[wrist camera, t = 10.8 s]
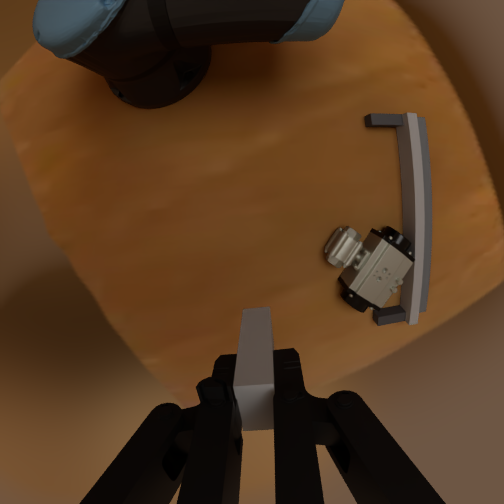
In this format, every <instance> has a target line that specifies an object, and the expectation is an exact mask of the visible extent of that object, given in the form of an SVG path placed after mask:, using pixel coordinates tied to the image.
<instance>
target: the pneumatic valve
mask: <svg viewBox="0 0 504 504" xmlns="http://www.w3.org/2000/svg"><path fill="white" fill-rule="evenodd" d="M360 238H361V235H360V234H359V233H358V232H356V231H355V230H353V229H352V228H350V227H349V226H346V227H345V229H344V230H343V229H342V228H340V227H339V228H337V229H336V231H335V233H334V234H333V236H332V237H331V239H330V240H329V242H328V243H327V245H326V246H325V250H324V251H325V253H328V252H329V253H328V255H327V256H326V260H327V261H328V262H330V263H331V264H332V265H334V266H335V267H337V268H341V266H342V265H343V267H344V268H345V270H344V271H343V272H342V274H341V275H340V277H339V278H338V280H339V282H340V283H341V285H342V286H343V287H344V290H343V291H342V293H341V294H340V296H341V297H342V298H343V300H344V301H345V302H347V303H348V304H349V305H350V306H352V307H353V308H354V309H356V310H358V311H360V312H362V313H364V312H365V311H366V309H367V308H368V307H369V308H370V309H371V310H373V309H375V310H377V311H378V312H379V311H380V310H381V308H382V307H383V305H384V304H385V303H386V301H387V300H388V299H389V297H390V296H391V295H392V293H396V292H397V288H396V287H397V286H398V285H402V284H403V280H402V279H403V277H404V276H405V274H406V273H407V271H408V270H409V268H410V267H411V265H412V264H413V262H414V261H415V258H414V257H412V256H411V254H412V253H411V252H410V251H408V252H407V250H408V249H409V247H410V246H411V242H410V241H409V240H408V239H407V238H406V237H404V236H403V235H402V234H400V233H399V232H397V231H396V230H394V229H393V228H391V227H389V226H386V228H385V229H384V231H383V233H382V232H381V231H380V230H378V231H377V230H375V229H373V228H372V229H371V231H370V232H369V234H368V235H367V237H366V238H365V240H364V241H363V243H362V242H360V241H359V239H360ZM358 241H359V242H358ZM343 263H344V264H343Z"/></svg>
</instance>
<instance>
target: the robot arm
mask: <svg viewBox="0 0 504 504" xmlns="http://www.w3.org/2000/svg"><path fill="white" fill-rule="evenodd" d="M343 3H344V0H39V1H38V3H37V6H36V9H35V12H34V17H33V32H34V36H35V38H36V40H37V41H38V43H39V44H40V45H41V46H43V47H44V48H46V49H48V50H50V51H51V52H53V53H54V55H55V56H56V57H58V58H63V59H64V58H65V59H67V60H69V61H72V62H74V63H76V64H78V65H81V66H83V67H85V68H87V69H89V70H91V71H93V72H95V73H97V74H99V75H101V76H104V78H105V80H106V82H107V84H108V85H109V87H110V89H111V91H112V92H113V93H114V94H115V95H116V96H117V97H118V98H119V99H121V100H122V101H124V102H126V103H128V104H131V105H133V106H136V107H139V108H147V109H152V108H160V107H164V106H167V105H170V104H173V103H175V102H177V101H179V100H181V99H182V98H184V97H185V96H187V95H188V94H189V93H190V92H192V91H193V90H194V89H195V88H196V87H197V85H198V84H199V83H200V82H201V80H202V79H203V77H204V76H205V74H206V72H207V70H208V67H209V64H210V60H211V45H217V44H228V43H243V42H269V43H271V44H278V43H281V42H284V41H313V40H316V39H318V38H319V37H321V36H323V35H325V34H326V33H327V32H328V31H329V30H330V29H331V28H332V26H333V25H334V23H335V22H336V20H337V18H338V16H339V14H340V11H341V9H342V6H343ZM196 390H197V393H198V396H199V399H200V404H199V405H197V406H194V407H190V408H186V409H181V408H180V407H179V406H178V405H176V404H174V403H164V404H160V405H158V406H156V407H155V408H154V409H153V410H152V411H151V412H150V414H149V415H148V416H147V418H146V419H145V420H144V421H143V423H142V424H141V425H140V427H139V428H138V430H137V431H136V432H135V433H134V435H133V436H132V437H131V439H130V440H129V441H128V442H127V444H126V445H125V446H124V447H123V449H122V450H121V451H120V453H119V454H118V455H117V457H116V458H115V459H114V460H113V462H112V463H111V464H110V466H109V467H108V468H107V469H106V471H105V472H104V473H103V474H102V476H101V477H100V478H99V480H98V481H97V482H96V483H95V485H94V486H93V487H92V488H91V490H90V491H89V492H88V493H87V495H86V496H85V497H84V499H83V500H82V501H81V502H80V504H169V503H170V502H171V500H172V498H173V496H174V495H175V493H176V491H177V489H178V488H179V486H180V484H181V487H180V491H179V496H178V500H177V504H238V503H239V490H240V476H241V461H242V446H243V439H242V434H241V430H242V428H243V431H252V430H268V429H274V449H275V493H276V494H275V497H276V504H324V499H323V491H322V485H321V477H320V471H319V464H318V457H317V451H316V444H317V445H318V444H319V445H325V446H326V448H327V450H328V452H329V454H330V456H331V458H332V459H333V461H334V463H335V465H336V467H337V468H338V470H339V472H340V474H341V476H342V477H343V479H344V481H345V483H346V484H347V486H348V488H349V490H350V491H351V493H352V495H353V497H354V498H355V500H356V502H357V504H446V503H445V502H444V501H443V500H442V498H441V497H440V496H439V495H438V493H437V492H436V491H435V490H434V488H433V487H432V486H431V485H430V483H429V482H428V481H427V480H426V478H425V477H424V476H423V475H422V474H421V472H420V471H419V470H418V468H417V467H416V466H415V465H414V464H413V462H412V461H411V460H410V459H409V457H408V456H407V455H406V453H405V452H404V451H403V450H402V448H401V447H400V446H399V445H398V443H397V442H396V441H395V440H394V438H393V437H392V436H391V435H390V433H389V432H388V431H387V430H386V428H385V427H384V426H383V425H382V423H381V422H380V421H379V420H378V418H377V417H376V416H375V414H374V413H373V412H372V411H371V409H370V408H369V407H368V406H367V405H366V403H365V402H364V401H363V399H362V398H361V397H360V396H359V395H358V394H357V393H355V392H352V391H345V390H343V391H339V392H336V393H334V394H332V395H331V396H330V397H329V398H328V399H325V398H318V397H314V396H312V395H310V394H309V393H308V392H307V391H306V389H305V386H304V381H303V375H302V369H301V364H300V358H299V353H298V352H297V351H296V350H295V349H294V348H290V349H280V350H274V341H273V332H272V323H271V313H270V307H260V308H250V309H243V313H242V321H241V329H240V337H239V344H238V352H237V354H228V355H220V356H219V357H218V359H217V360H216V361H215V364H214V370H213V373H212V377H208V378H206V379H203V380H202V381H200V382H199V383H198V385H197V386H196Z"/></svg>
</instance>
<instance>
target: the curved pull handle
mask: <svg viewBox="0 0 504 504" xmlns="http://www.w3.org/2000/svg"><path fill="white" fill-rule="evenodd" d="M364 117H365V124H366V127H396V131H397V139H398V148H399V158H400V169H401V184H402V205H403V236H404V237H406V238H407V239H408V240H409V241H410V242H411V246H410V247H409V249H408V250H407V252H408V251H410V252H411V253H412V254H411V256H412V257H414V258H415V261H414V262H413V264H412V265H411V267H410V268H409V270H408V271H407V273H406V274H405V276H404V277H403V279H402V280H403V284H402V285H401V298H400V305H398V306H393V307H387V308H381V310H380V311H379V312H378V311H377V310H373V320H374V321H375V322H376V324H377V325H378V326H380V325H386V324H391V323H396V322H401V321H406V322H407V323H408V324H409V325H412V324H417V323H418V315H419V313H420V312H424V311H426V306H427V298H428V288H429V278H430V264H431V245H432V190H431V171H430V158H429V147H428V138H427V130H426V122H425V118H424V117H417V114H416V113H405V114H369V115H366V116H364Z"/></svg>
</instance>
